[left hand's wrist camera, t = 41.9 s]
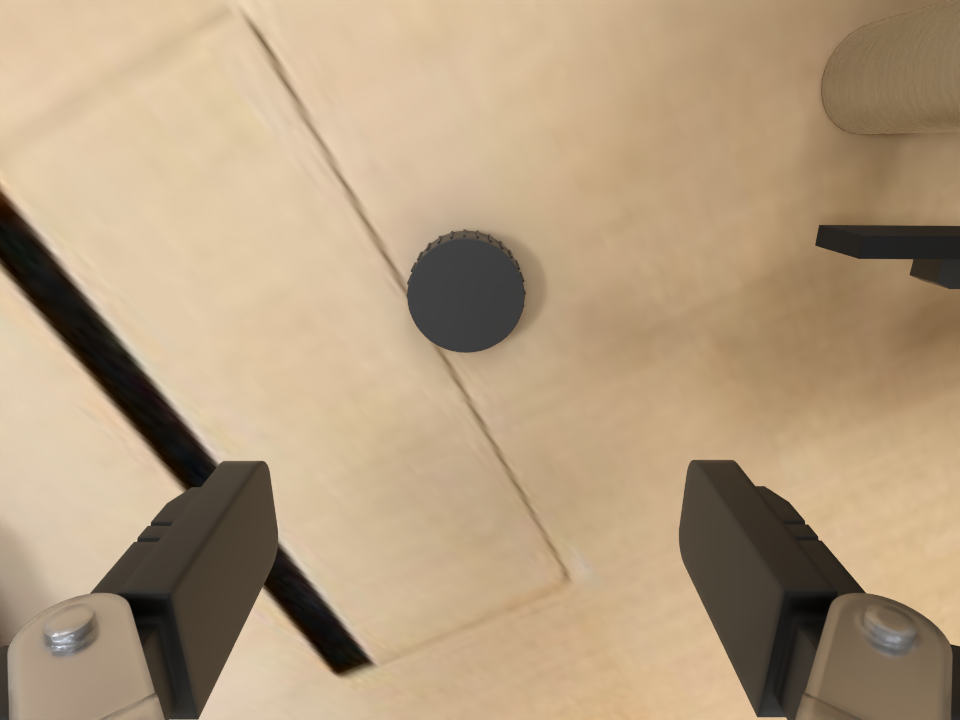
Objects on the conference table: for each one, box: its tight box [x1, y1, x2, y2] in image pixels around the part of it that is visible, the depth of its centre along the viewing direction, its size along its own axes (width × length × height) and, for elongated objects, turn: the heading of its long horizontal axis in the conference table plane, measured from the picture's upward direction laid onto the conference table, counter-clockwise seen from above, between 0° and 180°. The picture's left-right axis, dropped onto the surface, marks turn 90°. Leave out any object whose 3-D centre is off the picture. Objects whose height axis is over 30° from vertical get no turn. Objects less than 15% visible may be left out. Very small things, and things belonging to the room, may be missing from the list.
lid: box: [407, 230, 525, 353], centre depth 27 cm, size 5×5×2 cm
